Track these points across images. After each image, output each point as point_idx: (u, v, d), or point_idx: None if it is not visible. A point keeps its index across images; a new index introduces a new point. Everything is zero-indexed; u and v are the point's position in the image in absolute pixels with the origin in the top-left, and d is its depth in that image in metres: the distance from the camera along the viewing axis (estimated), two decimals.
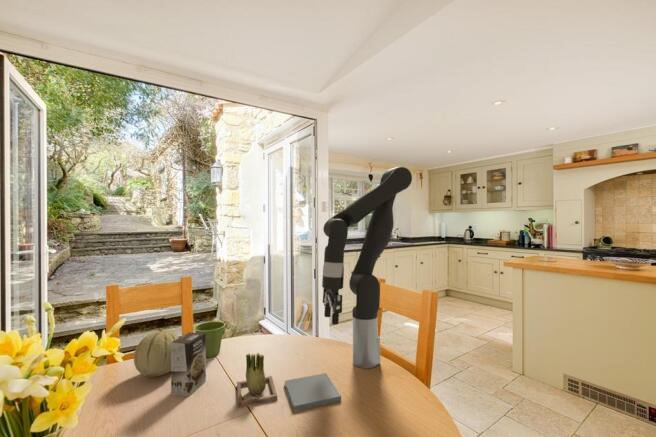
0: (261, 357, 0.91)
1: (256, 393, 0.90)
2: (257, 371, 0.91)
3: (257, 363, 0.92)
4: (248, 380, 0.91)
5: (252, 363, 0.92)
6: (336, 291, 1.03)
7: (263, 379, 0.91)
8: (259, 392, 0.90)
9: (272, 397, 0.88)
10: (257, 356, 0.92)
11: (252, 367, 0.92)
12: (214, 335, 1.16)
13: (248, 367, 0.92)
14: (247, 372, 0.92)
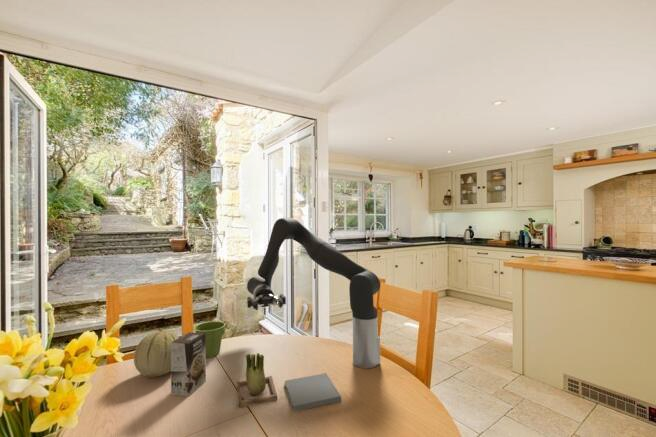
0: (261, 357, 0.91)
1: (256, 393, 0.90)
2: (257, 371, 0.91)
3: (257, 363, 0.92)
4: (248, 380, 0.91)
5: (252, 363, 0.92)
6: None
7: (263, 379, 0.91)
8: (259, 392, 0.90)
9: (272, 397, 0.88)
10: (257, 356, 0.92)
11: (252, 367, 0.92)
12: (214, 335, 1.16)
13: (248, 367, 0.92)
14: (247, 372, 0.92)
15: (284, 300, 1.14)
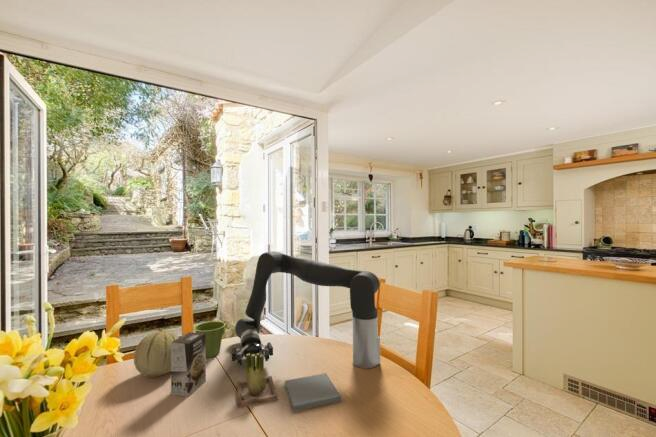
0: (261, 357, 0.91)
1: (256, 393, 0.90)
2: (257, 371, 0.91)
3: (257, 363, 0.92)
4: (248, 380, 0.91)
5: (252, 363, 0.92)
6: (241, 348, 1.10)
7: (263, 379, 0.91)
8: (259, 392, 0.90)
9: (272, 397, 0.88)
10: (257, 356, 0.92)
11: (252, 367, 0.92)
12: (214, 335, 1.16)
13: (248, 367, 0.92)
14: (247, 372, 0.92)
15: (271, 351, 1.07)
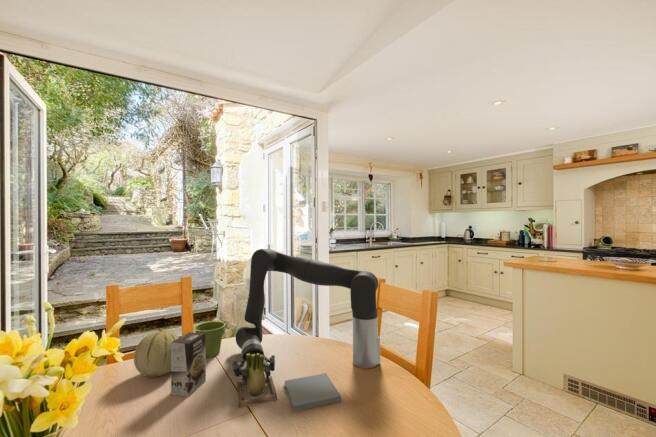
0: (261, 357, 0.91)
1: (256, 393, 0.90)
2: (257, 371, 0.91)
3: (257, 363, 0.92)
4: (248, 380, 0.91)
5: (252, 363, 0.92)
6: None
7: (263, 379, 0.91)
8: (259, 392, 0.90)
9: (272, 397, 0.88)
10: (257, 356, 0.92)
11: (252, 367, 0.92)
12: (214, 335, 1.16)
13: (248, 367, 0.92)
14: (247, 372, 0.92)
15: (272, 366, 0.96)
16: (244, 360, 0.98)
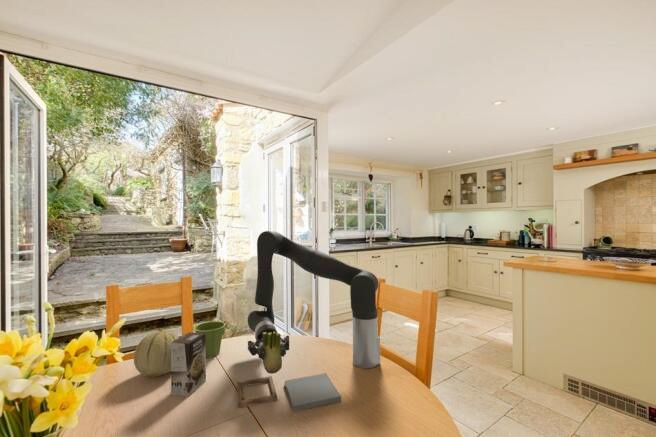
0: (278, 335, 0.91)
1: (273, 371, 0.90)
2: (274, 349, 0.91)
3: (274, 341, 0.92)
4: (265, 358, 0.91)
5: (269, 341, 0.91)
6: None
7: (280, 357, 0.91)
8: (276, 370, 0.90)
9: (272, 397, 0.88)
10: (274, 334, 0.92)
11: (269, 345, 0.91)
12: (214, 335, 1.16)
13: (264, 345, 0.92)
14: (264, 350, 0.92)
15: (287, 345, 0.96)
16: (259, 340, 0.98)
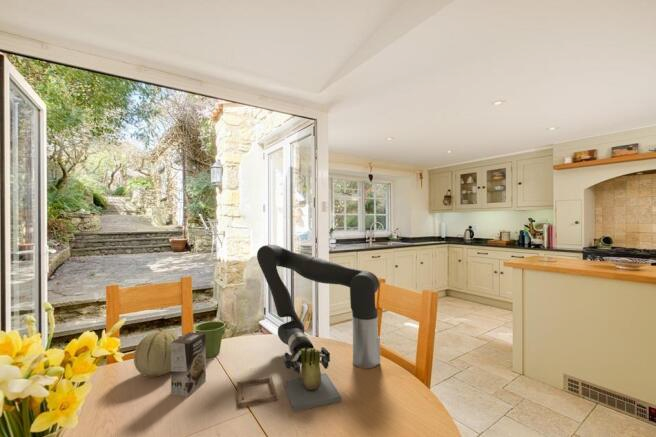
0: (317, 352, 0.91)
1: (313, 388, 0.89)
2: (313, 366, 0.91)
3: (313, 358, 0.91)
4: (304, 374, 0.91)
5: (308, 358, 0.91)
6: (293, 353, 0.99)
7: (319, 374, 0.91)
8: (315, 387, 0.90)
9: (272, 397, 0.88)
10: (313, 351, 0.91)
11: (308, 362, 0.91)
12: (214, 335, 1.16)
13: (304, 362, 0.92)
14: (303, 367, 0.92)
15: (328, 357, 0.96)
16: (295, 353, 0.98)
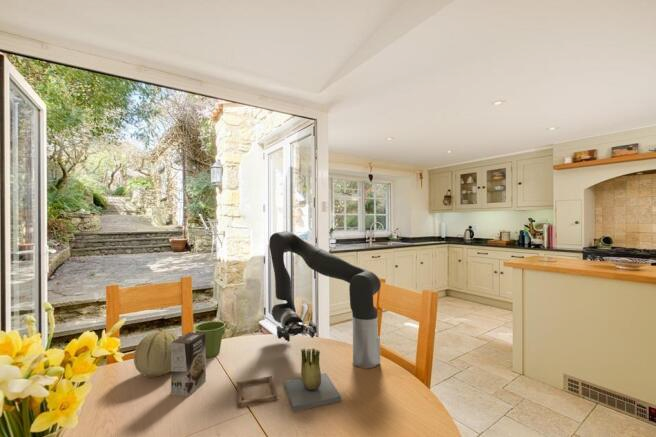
0: (317, 352, 0.91)
1: (313, 388, 0.89)
2: (313, 366, 0.91)
3: (313, 358, 0.91)
4: (304, 374, 0.91)
5: (308, 358, 0.91)
6: (284, 327, 1.13)
7: (319, 374, 0.91)
8: (315, 387, 0.90)
9: (272, 397, 0.88)
10: (313, 351, 0.91)
11: (308, 362, 0.91)
12: (214, 335, 1.16)
13: (304, 362, 0.92)
14: (303, 367, 0.92)
15: (315, 329, 1.10)
16: (286, 326, 1.11)
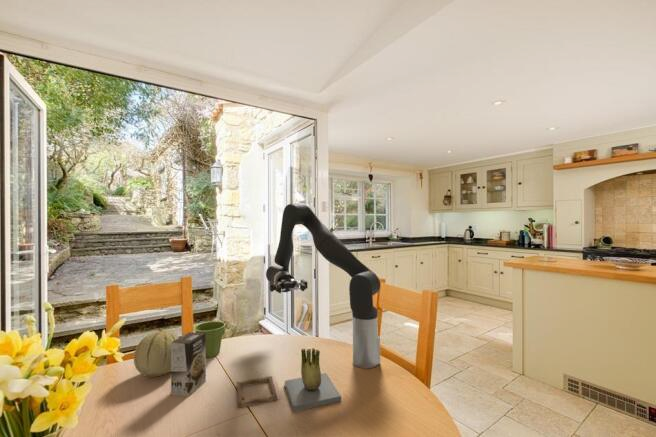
0: (317, 352, 0.91)
1: (313, 388, 0.89)
2: (313, 366, 0.91)
3: (313, 358, 0.91)
4: (304, 374, 0.91)
5: (308, 358, 0.91)
6: (276, 283, 1.18)
7: (319, 374, 0.91)
8: (315, 387, 0.90)
9: (272, 397, 0.88)
10: (313, 351, 0.91)
11: (308, 362, 0.91)
12: (214, 335, 1.16)
13: (304, 362, 0.92)
14: (303, 367, 0.92)
15: (306, 284, 1.15)
16: (279, 282, 1.16)
